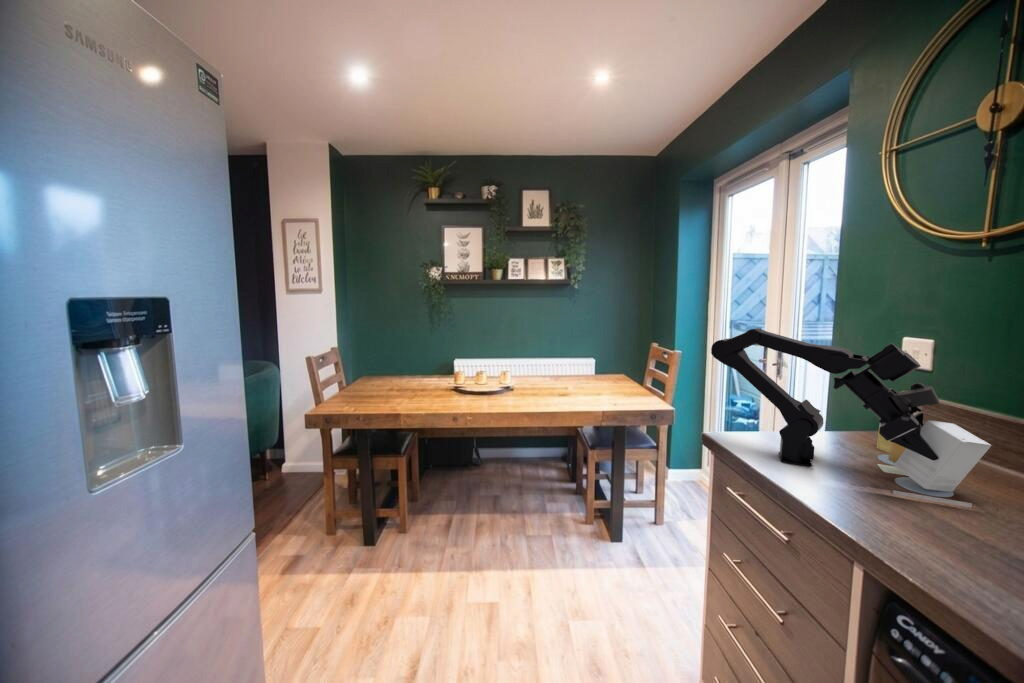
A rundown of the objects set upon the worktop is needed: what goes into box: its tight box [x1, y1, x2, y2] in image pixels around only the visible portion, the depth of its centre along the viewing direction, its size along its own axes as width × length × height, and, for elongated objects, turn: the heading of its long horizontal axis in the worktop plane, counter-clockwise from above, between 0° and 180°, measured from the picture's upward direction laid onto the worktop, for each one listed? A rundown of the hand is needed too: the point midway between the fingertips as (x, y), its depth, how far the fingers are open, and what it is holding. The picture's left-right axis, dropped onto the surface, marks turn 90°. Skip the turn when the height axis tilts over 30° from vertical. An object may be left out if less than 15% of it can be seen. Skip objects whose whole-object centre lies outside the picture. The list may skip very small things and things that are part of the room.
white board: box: [876, 454, 973, 509], centre depth 94 cm, size 12×24×1 cm, turn 153°
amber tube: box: [888, 442, 906, 463], centre depth 99 cm, size 5×5×12 cm
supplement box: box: [893, 419, 992, 493], centre depth 85 cm, size 7×7×13 cm
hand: (936, 453), depth 85 cm, fingers closed on supplement box, 9 cm apart
